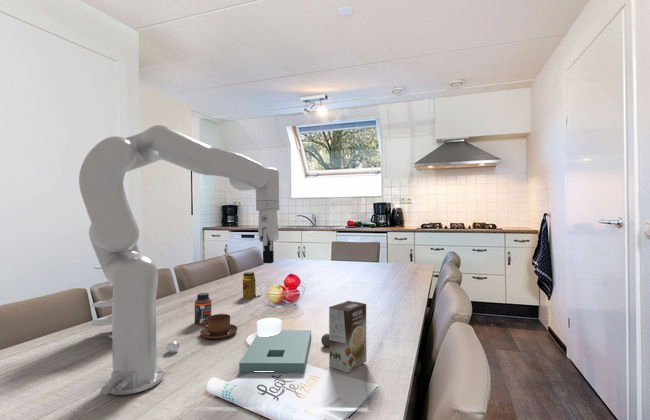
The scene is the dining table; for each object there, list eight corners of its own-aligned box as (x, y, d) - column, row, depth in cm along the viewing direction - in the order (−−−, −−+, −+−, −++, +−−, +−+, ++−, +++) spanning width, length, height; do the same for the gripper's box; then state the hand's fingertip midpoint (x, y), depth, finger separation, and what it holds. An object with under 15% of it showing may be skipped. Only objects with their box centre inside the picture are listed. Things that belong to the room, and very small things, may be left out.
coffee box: (348, 374, 87) (347, 311, 87) (328, 367, 91) (327, 307, 91) (367, 361, 94) (366, 303, 94) (348, 355, 98) (347, 299, 98)
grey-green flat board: (304, 372, 88) (304, 363, 88) (239, 372, 88) (239, 363, 88) (311, 337, 112) (311, 330, 112) (259, 337, 112) (259, 330, 112)
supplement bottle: (206, 326, 124) (205, 295, 124) (191, 326, 125) (191, 295, 125) (214, 321, 129) (214, 291, 129) (200, 320, 131) (200, 291, 131)
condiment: (239, 298, 163) (238, 273, 163) (248, 294, 171) (248, 270, 171) (252, 299, 161) (252, 274, 161) (261, 295, 169) (261, 271, 169)
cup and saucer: (197, 343, 108) (197, 324, 108) (203, 330, 120) (203, 313, 120) (236, 340, 111) (236, 321, 111) (238, 328, 123) (238, 310, 123)
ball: (175, 340, 104) (181, 350, 103) (164, 347, 102) (169, 357, 101) (176, 337, 101) (181, 347, 100) (164, 344, 99) (170, 354, 98)
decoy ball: (333, 348, 103) (333, 336, 103) (320, 348, 103) (320, 336, 103) (333, 344, 106) (333, 331, 106) (321, 344, 107) (321, 331, 107)
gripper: (275, 205, 103) (275, 266, 103) (282, 206, 118) (283, 259, 118) (250, 206, 103) (251, 266, 103) (261, 206, 118) (261, 259, 118)
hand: (268, 262), depth 110 cm, fingers closed
